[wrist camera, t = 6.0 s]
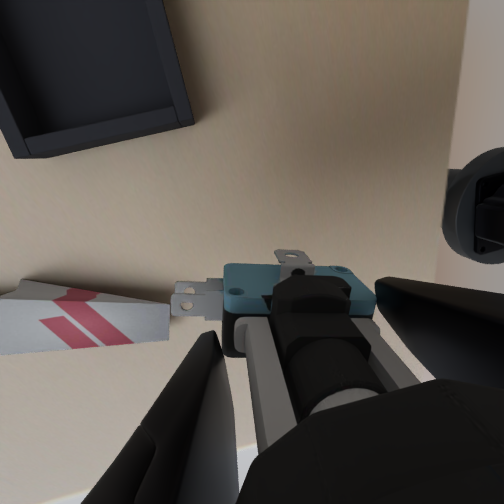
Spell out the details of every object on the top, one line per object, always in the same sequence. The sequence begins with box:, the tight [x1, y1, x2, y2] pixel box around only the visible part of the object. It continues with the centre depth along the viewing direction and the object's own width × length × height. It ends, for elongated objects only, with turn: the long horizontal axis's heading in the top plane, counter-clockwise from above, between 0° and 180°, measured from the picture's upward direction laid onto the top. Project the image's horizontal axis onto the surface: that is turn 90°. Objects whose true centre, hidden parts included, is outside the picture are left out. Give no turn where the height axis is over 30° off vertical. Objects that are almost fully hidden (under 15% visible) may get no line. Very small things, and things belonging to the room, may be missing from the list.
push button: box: [171, 249, 504, 504], centre depth 7 cm, size 7×5×10 cm
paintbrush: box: [0, 279, 170, 355], centre depth 19 cm, size 4×3×20 cm
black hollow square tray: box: [0, 0, 195, 159], centre depth 15 cm, size 9×11×3 cm
